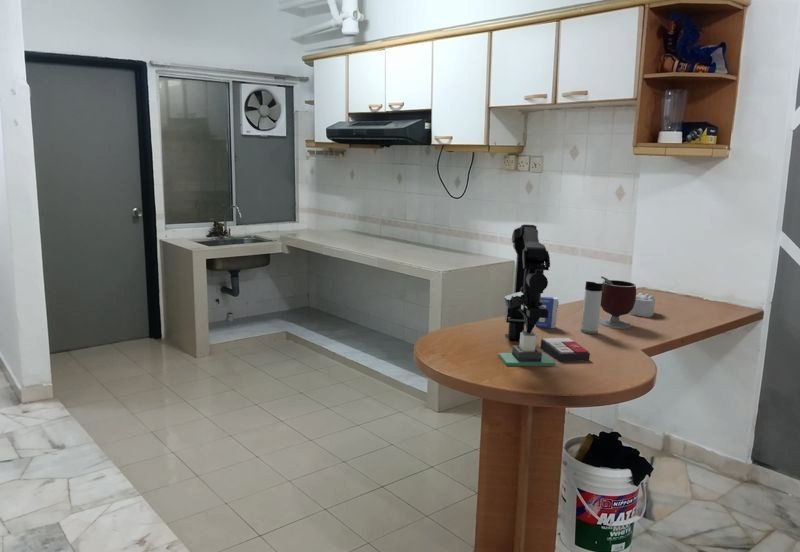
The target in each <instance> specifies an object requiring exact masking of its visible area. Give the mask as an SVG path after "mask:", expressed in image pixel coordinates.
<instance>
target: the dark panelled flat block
mask: <svg viewBox="0 0 800 552" xmlns="http://www.w3.org/2000/svg"><path fill="white" fill-rule="evenodd" d="M539 349H540V350H542V351H544V352H545V353H546V354H549V355H548V356H551V357H552V358H553V359H555V360H556V361H557V362H562V363H563V362H586V361H587V362H588V361H590V356H591V353H590V352H589V350H587V349H586V348H584V347H583V346H581V345H580V344H579V343H578V342H576V341H574V340H572V338H571V337H554V338H553V337H552V338H551V337H549V338H548V337H547V338H542V339H540V347H539Z"/></svg>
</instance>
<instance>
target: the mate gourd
mask: <svg viewBox="0 0 800 552" xmlns="http://www.w3.org/2000/svg"><path fill="white" fill-rule="evenodd" d="M600 278H601V279H603V281H602V283H601V284H603V285H602V296H601V305H600V308H602V310H603V311H604V312H605V313H607V314H609V315H611V317H610V318H602V319H599V325H601V326H604V327H608V328H612V329H613V328H614V329H629V328H631V325H632V324H631V323H630V322H628V321H624V320H621V319H620V317H621V316H625V315H629V314H628V313H629V312H630V311H631V310H632V309H633V307H634V304H635V300H636V294H637V283H633V282H631V281H625V280H619V279H617V280H616V279H608V278H606V277H604V276H601V277H600Z"/></svg>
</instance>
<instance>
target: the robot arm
mask: <svg viewBox="0 0 800 552" xmlns="http://www.w3.org/2000/svg"><path fill="white" fill-rule="evenodd" d="M512 231H513V232H512V237H511V243H512V247H513V249H514V252H515V253H516V261H515V263H516V265H515V275H514V288H513V289H514V291H513V293H511V294H508V295H505V296H504V301H505V304H506V310H505V313H504V314H505V315H504V320H505V323H508V328H507V329H508V332H507V333H506V334H504V337H506V338H507V339H508V340H509V341H520V332H522V331H527V333H531V331H532V332H533V329H534V328H535V327H536V325H535V324H536V323H537V321H538V320H539V318H549V311H548V310H547V309H546V308H545V307H543V306H542V302H540V299H541V297H542V294H544V291H545V290H546V289H547V288H548V284H549V281H548V278H547V276H546V275H545V274H544V273H545V272H544V271H549V270H550V269H549V268H550V267H551V260H550V258H551V257H550V254H549V251H548V250H547V248H546V246H545V244H542V243H540V240H539V230H538V229H537V225H535V224H526V223H525V224H521V226H519V227H517V228H514V230H512Z"/></svg>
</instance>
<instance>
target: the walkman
mask: <svg viewBox="0 0 800 552" xmlns="http://www.w3.org/2000/svg"><path fill="white" fill-rule="evenodd" d="M540 302H542V306H543V307H545V308H546V309H547V310H548V311H549V318H539V320H538V321H537V323H536V324H535V327H536V328H537V327H538V328H550V329H556V327H557V319H558V318H557V317H558V316H557V315H558V309H559V297H555V296H554V297H551V296H541V299H540Z"/></svg>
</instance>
